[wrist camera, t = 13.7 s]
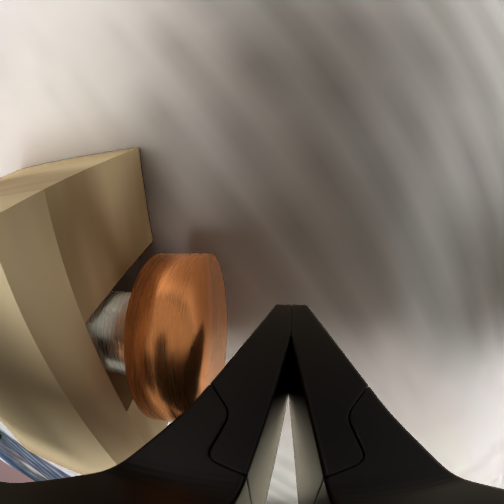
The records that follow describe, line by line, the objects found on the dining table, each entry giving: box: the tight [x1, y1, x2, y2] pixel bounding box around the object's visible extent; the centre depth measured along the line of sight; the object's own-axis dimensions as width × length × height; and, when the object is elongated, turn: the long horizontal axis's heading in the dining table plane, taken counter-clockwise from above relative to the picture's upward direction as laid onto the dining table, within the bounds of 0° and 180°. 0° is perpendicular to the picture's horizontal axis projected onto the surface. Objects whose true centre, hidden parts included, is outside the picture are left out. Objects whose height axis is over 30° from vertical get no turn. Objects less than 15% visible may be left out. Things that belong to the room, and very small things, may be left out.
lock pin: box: [85, 253, 227, 422], centre depth 8 cm, size 4×15×4 cm, turn 93°
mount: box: [0, 148, 168, 475], centre depth 8 cm, size 9×5×5 cm, turn 3°
